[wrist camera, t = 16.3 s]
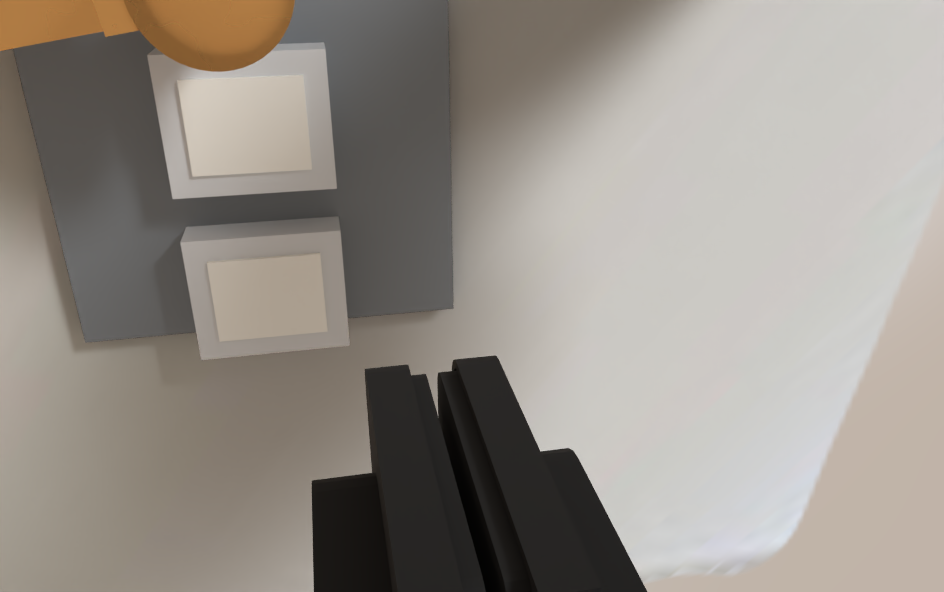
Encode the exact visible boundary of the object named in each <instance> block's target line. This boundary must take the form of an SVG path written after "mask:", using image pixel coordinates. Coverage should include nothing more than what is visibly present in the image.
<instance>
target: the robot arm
mask: <svg viewBox="0 0 944 592" xmlns="http://www.w3.org/2000/svg"><path fill="white" fill-rule="evenodd" d="M365 382H366V396H367V409H368V422H369V436H370V449H371V463H372V473H368V474H360V475H352V476H345V477H337V478H329V479H321V480H313V481H312V520H313V567H314V592H647V590H646V588H645V587H644V585H643V583H642V581H641V579H640V577H639V575H638V573H637V571H636V569H635V567H634V565H633V563H632V561H631V559H630V558H629V556H628V554H627V552H626V550H625V548H624V546H623V544H622V542H621V540H620V538H619V536H618V534H617V532H616V530H615V529H614V527H613V525H612V523H611V521H610V519H609V517H608V515H607V513H606V511H605V509H604V507H603V505H602V503H601V501H600V500H599V498H598V496H597V494H596V492H595V490H594V488H593V486H592V484H591V482H590V480H589V478H588V476H587V474H586V473H585V471H584V469H583V467H582V465H581V463H580V461H579V459H578V457H577V456H576V454H575V453H574V451H573V450H571V449H569V448H566V449H558V450H550V451H542V452H540V450H539V448H538V445H537V443H536V441H535V439H534V437H533V434H532V432H531V430H530V428H529V426H528V423H527V421H526V419H525V417H524V414H523V412H522V410H521V408H520V406H519V403H518V401H517V399H516V397H515V395H514V392H513V390H512V388H511V386H510V384H509V381H508V379H507V377H506V375H505V373H504V370H503V368H502V366H501V364H500V361H499V359H498V358H497V356H486V357H476V358H466V359H457V360H453V364H452V371H450V372H440V373H438V415H437V412H436V408H435V404H434V401H433V397H432V394H431V390H430V386H429V383H428V379H427V376H426V374H421V375H412V376H411V374H410V370H409V366H408V365H399V366H389V367H380V368H370V369H365ZM438 418H439V419H438Z"/></svg>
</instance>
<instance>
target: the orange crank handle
mask: <svg viewBox="0 0 944 592" xmlns="http://www.w3.org/2000/svg"><path fill="white" fill-rule="evenodd" d="M294 4H295V0H0V51H3V50H8V49H13V48H18V47H24V46H29V45H34V44H40V43H45V42H50V41H55V40H61V39H66V38H71V37H77V36H82V35H87V34H93V33H98V32H103V31H104V34H105V37H107V36H113V35H118V34H123V33H129V32H134V31H138V30H139V31H140V32H141V33H142V35H143V36H144V37H145V38H146V39H147V40H148V41H149V42H150V43H151V44H152V45H153V46H154V47H155V48H157V49H158V50H159V51H160V52H162V53H163V54H164V55H166V56H167V57H169V58H171V59H173V60H174V61H176V62H178V63H180V64H183V65H185V66H188V67H191V68H195V69H198V70H204V71H211V72H224V71H232V70H237V69H240V68H244V67H246V66H249V65H251V64H254V63H255V62H257V61H259V60H260V59H262V58H263V57H265V56H266V55H267V54H268V53H270V52H271V51H272V50H273V49H274V47H275V46H276V45H277V44H278V43H279V42H280V40H281V39H282V37H283V36H284V34H285V32H286V30H287V28H288V26H289V23H290V20H291V18H292V14H293V9H294Z"/></svg>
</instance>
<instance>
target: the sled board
mask: <svg viewBox="0 0 944 592" xmlns="http://www.w3.org/2000/svg"><path fill="white" fill-rule="evenodd" d="M13 51H14V55H15V59H16V63H17V67H18V71H19V76H20V80H21V84H22V88H23V92H24V96H25V100H26V104H27V108H28V112H29V116H30V120H31V124H32V128H33V132H34V136H35V140H36V144H37V148H38V152H39V156H40V160H41V165H42V169H43V173H44V177H45V181H46V185H47V189H48V193H49V197H50V201H51V205H52V209H53V213H54V217H55V221H56V225H57V229H58V233H59V237H60V241H61V245H62V249H63V254H64V258H65V262H66V266H67V270H68V274H69V278H70V282H71V286H72V290H73V294H74V298H75V302H76V306H77V310H78V314H79V318H80V322H81V326H82V330H83V334H84V339H85V343H86V342H97V341H108V340H118V339H129V338H140V337H151V336H162V335H172V334H183V333H194V332H196V334H197V340H198V345H199V351H200V356H201V360H210V359H220V358H230V357H240V356H250V355H261V354H271V353H281V352H291V351H301V350H311V349H322V348H332V347H342V346H350V341H349V328H348V318H356V317H367V316H378V315H389V314H400V313H410V312H421V311H432V310H443V309H453V258H452V201H451V145H450V88H449V31H448V0H295V4H294V9H293V14H292V18H291V20H290V23H289V26H288V28H287V30H286V32H285V34H284V36H283V37H282V39H281V40H280V42H279V43H278V44H277V45H276V46H275V47H274V49H273V50H272V51H271V52H270V53H268V54H267V55H266V56H265V57H263V58H262V59H260V60H259V61H257V62H255V63H254V64H251V65H249V66H246V67H244V68H240V69H237V70H232V71H224V72H211V71H204V70H198V69H195V68H191V67H188V66H185V65H183V64H180V63H178V62H176V61H174V60H173V59H171V58H169V57H167V56H166V55H164V54H163V53H162V52H160V51H159V50H158V49H157V48H155V47H154V46H153V45H152V44H151V43H150V42H149V41H148V40H147V39H146V38H145V37H144V36H143V35H142V33H141V32H140V31H139V30H138V31H134V32H129V33H123V34H118V35H113V36H107V37H105V34H104V31H103V32H98V33H93V34H87V35H82V36H77V37H71V38H66V39H61V40H55V41H50V42H45V43H40V44H34V45H29V46H24V47H18V48H13Z"/></svg>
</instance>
